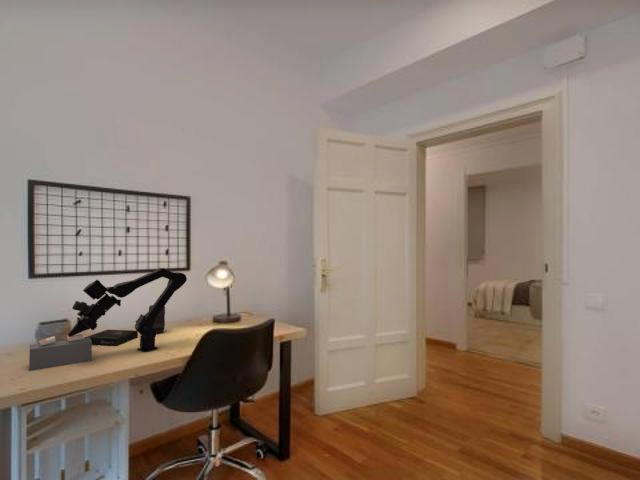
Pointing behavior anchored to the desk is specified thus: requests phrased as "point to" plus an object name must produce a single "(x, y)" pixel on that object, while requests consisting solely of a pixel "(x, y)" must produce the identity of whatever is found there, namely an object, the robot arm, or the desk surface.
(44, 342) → the block
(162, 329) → the dark grey tall block
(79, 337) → the rocker
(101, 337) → the portable cd player
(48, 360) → the switch block
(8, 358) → the desk surface
